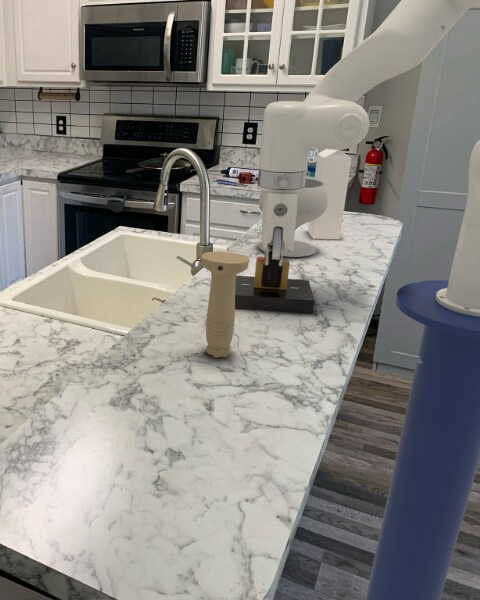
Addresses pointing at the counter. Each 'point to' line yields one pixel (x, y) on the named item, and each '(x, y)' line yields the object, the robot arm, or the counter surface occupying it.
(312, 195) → the chalice
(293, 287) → the plate
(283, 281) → the tan square block
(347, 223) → the counter surface
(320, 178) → the milk
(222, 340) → the handle
